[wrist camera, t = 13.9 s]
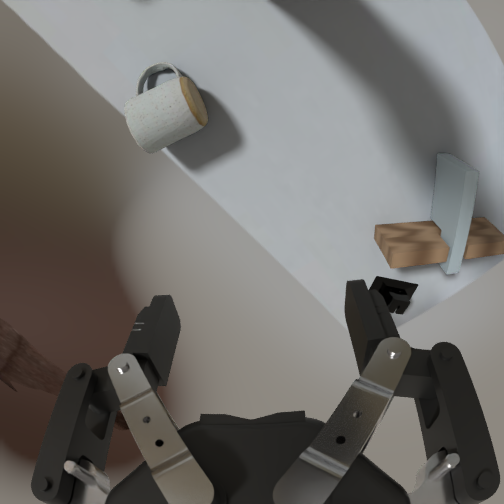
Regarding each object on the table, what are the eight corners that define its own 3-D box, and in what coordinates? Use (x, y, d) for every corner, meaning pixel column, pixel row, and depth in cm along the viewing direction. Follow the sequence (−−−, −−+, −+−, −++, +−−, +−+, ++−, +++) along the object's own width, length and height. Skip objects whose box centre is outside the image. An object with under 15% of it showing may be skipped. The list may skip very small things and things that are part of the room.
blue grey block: (437, 153, 38) (465, 171, 32) (449, 153, 38) (479, 171, 31) (425, 246, 47) (446, 274, 40) (437, 245, 46) (458, 272, 40)
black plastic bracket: (353, 300, 54) (359, 317, 50) (370, 267, 50) (378, 284, 46) (407, 309, 55) (415, 325, 51) (425, 279, 51) (435, 295, 47)
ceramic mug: (215, 121, 38) (205, 131, 31) (161, 146, 40) (142, 162, 33) (182, 51, 33) (165, 47, 26) (128, 80, 35) (102, 84, 28)
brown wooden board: (374, 238, 46) (390, 268, 40) (375, 224, 45) (392, 253, 38) (481, 229, 44) (505, 253, 38) (484, 217, 43) (509, 240, 36)
